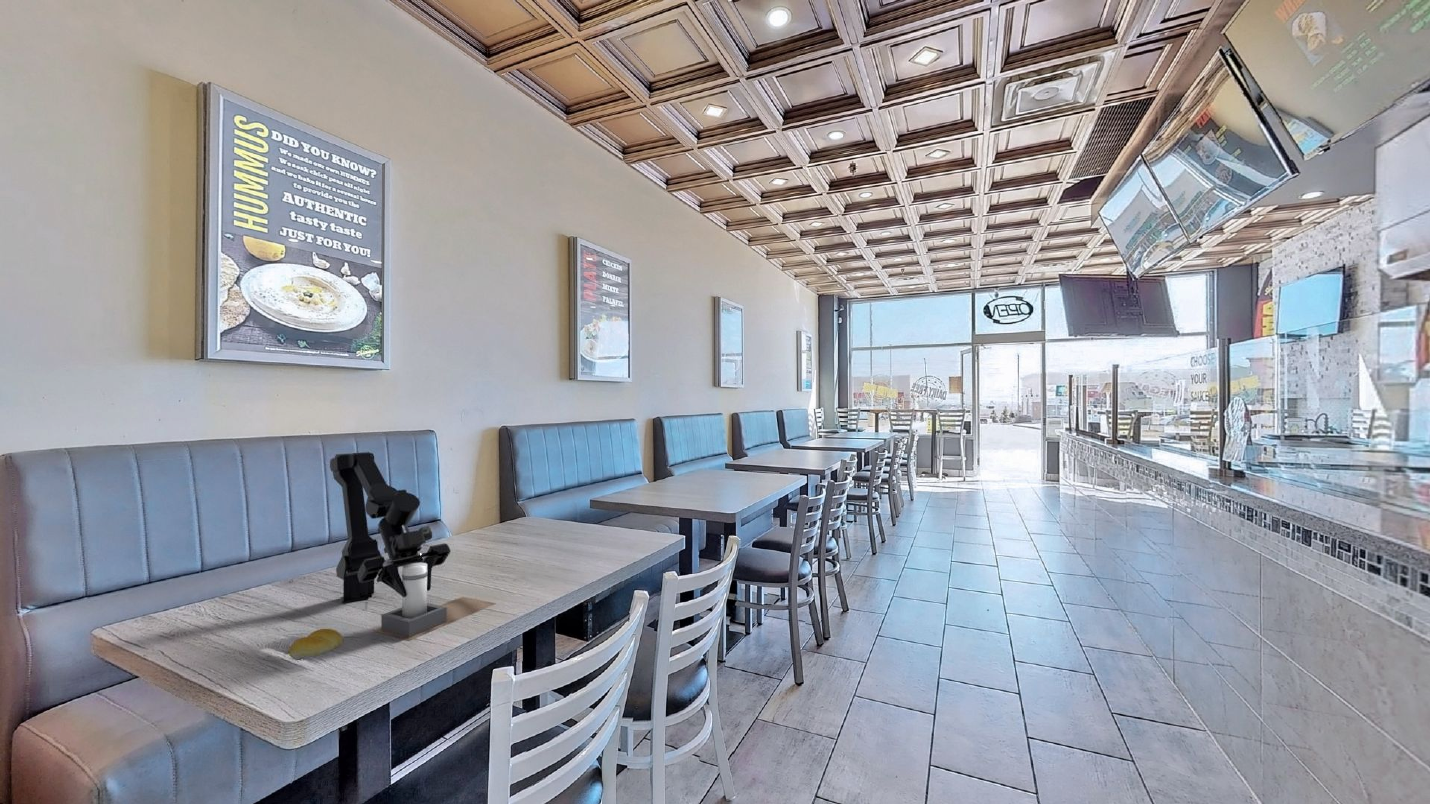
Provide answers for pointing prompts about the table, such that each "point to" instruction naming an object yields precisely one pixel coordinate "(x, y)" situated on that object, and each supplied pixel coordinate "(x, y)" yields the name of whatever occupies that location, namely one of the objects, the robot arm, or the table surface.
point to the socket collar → (413, 621)
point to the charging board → (451, 613)
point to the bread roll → (315, 643)
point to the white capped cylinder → (414, 590)
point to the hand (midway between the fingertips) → (417, 592)
